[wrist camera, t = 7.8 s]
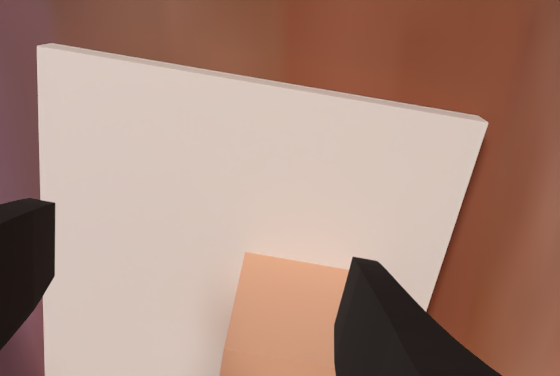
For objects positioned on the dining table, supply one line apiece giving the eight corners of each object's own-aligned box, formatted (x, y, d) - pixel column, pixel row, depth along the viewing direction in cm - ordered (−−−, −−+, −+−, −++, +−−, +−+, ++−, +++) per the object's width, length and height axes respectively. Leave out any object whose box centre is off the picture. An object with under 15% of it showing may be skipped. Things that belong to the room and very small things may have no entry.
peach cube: (228, 350, 24) (204, 468, 18) (244, 251, 22) (223, 349, 16) (340, 368, 24) (352, 493, 18) (366, 273, 22) (391, 377, 16)
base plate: (55, 364, 26) (45, 381, 25) (51, 43, 20) (36, 45, 19) (382, 415, 27) (385, 434, 26) (478, 115, 21) (488, 122, 19)
